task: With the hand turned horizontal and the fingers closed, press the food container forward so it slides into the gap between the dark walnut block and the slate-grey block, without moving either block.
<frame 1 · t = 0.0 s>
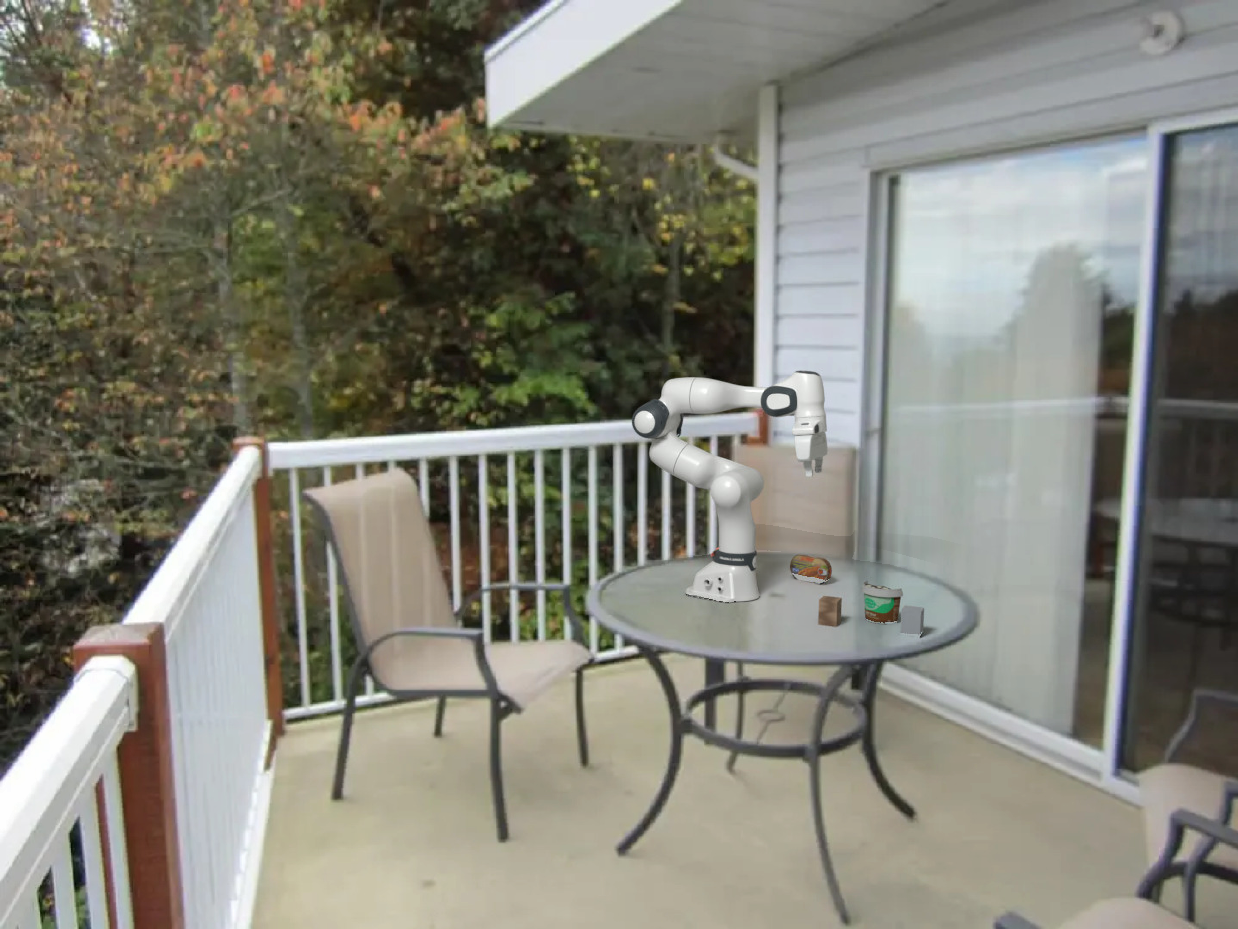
hand: (814, 474, 284), 39 cm above the table, tool pointing down, fingers open, 8 cm apart
walnut block: (829, 623, 270), on the table
food container: (876, 622, 272), on the table
slate block: (911, 634, 260), on the table
tin: (810, 582, 318), on the table
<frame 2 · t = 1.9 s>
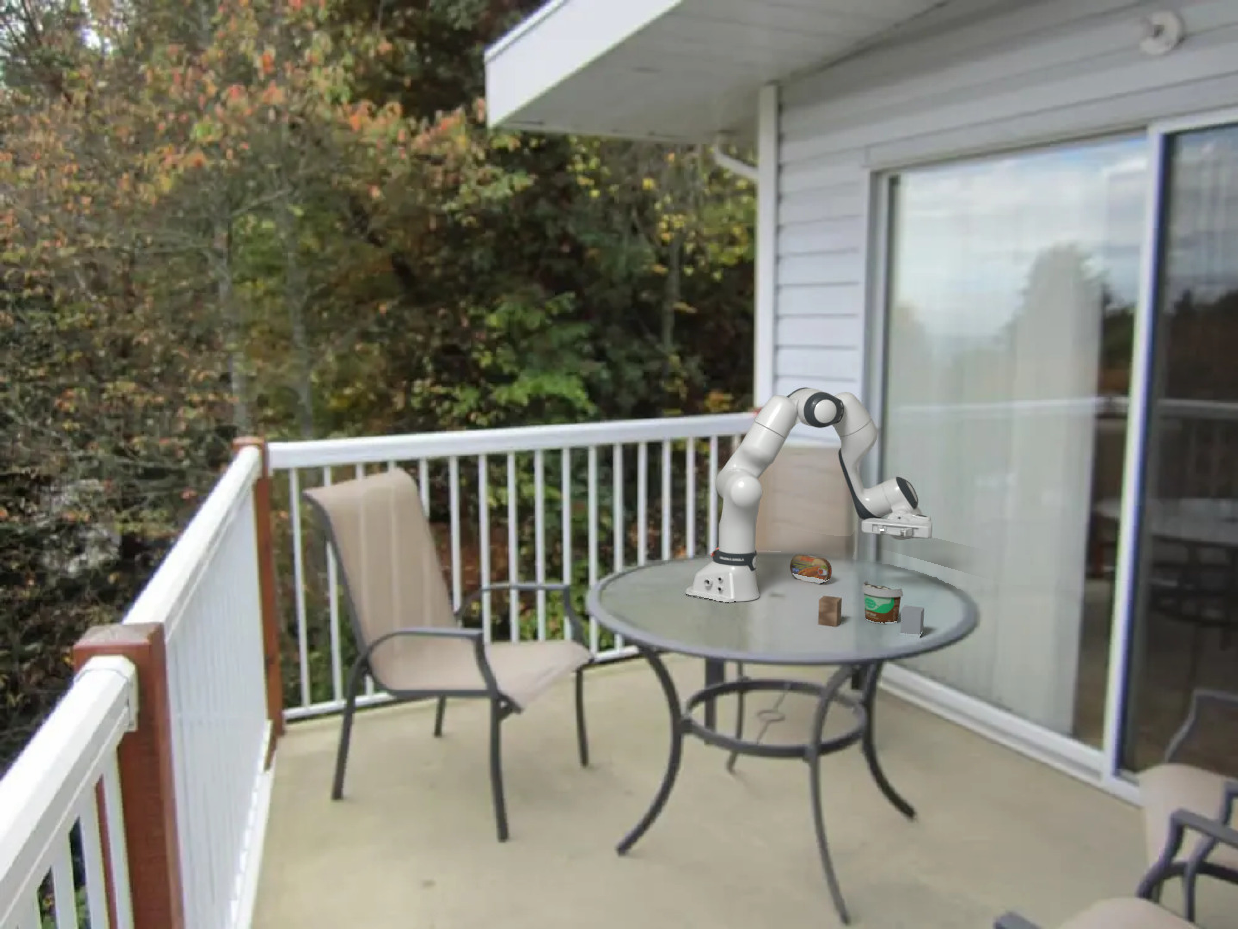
hand: (891, 532, 285), 22 cm above the table, tool horizontal, fingers open, 5 cm apart
nothing on the table moved.
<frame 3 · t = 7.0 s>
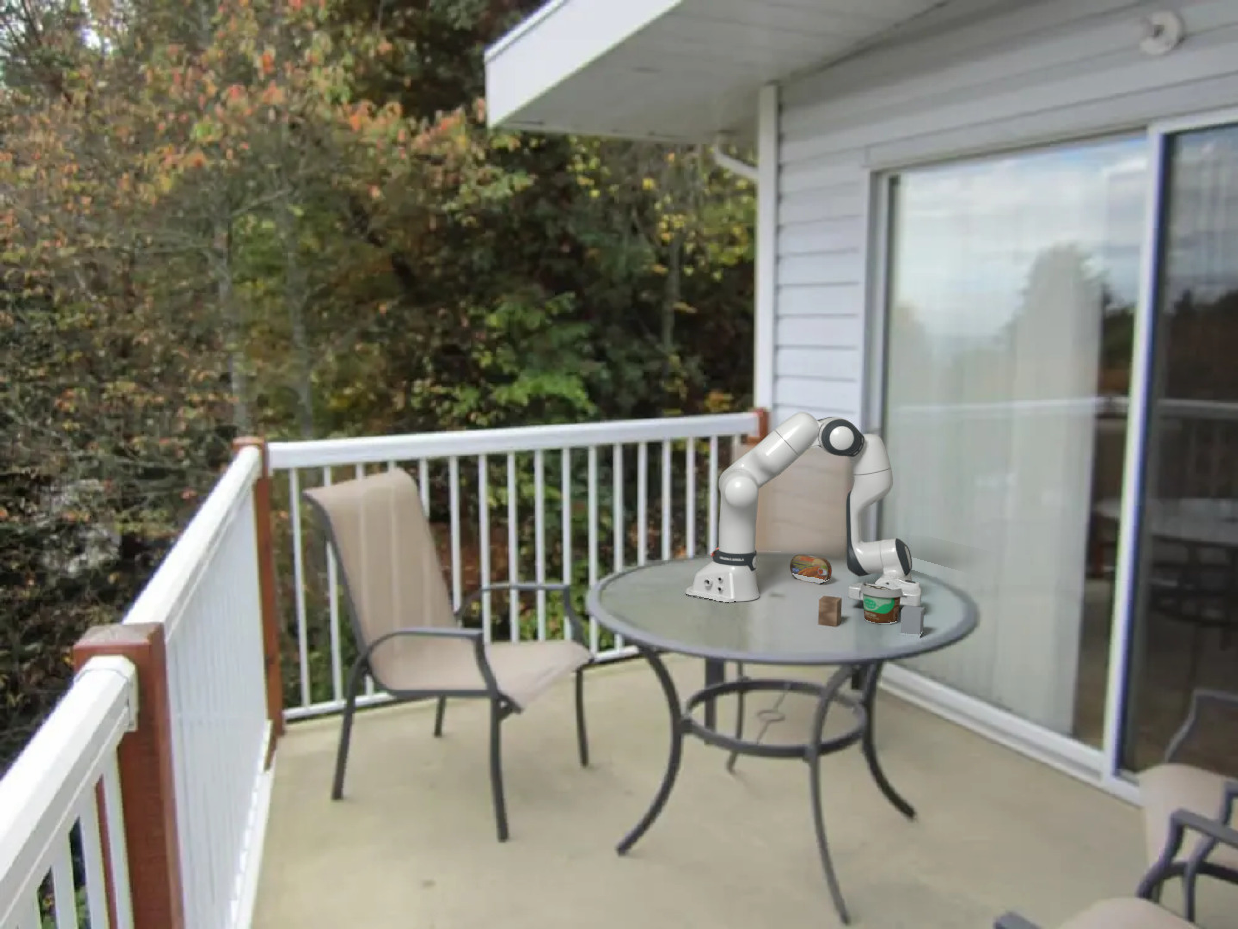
hand: (879, 601, 274), 5 cm above the table, tool horizontal, fingers closed
nothing on the table moved.
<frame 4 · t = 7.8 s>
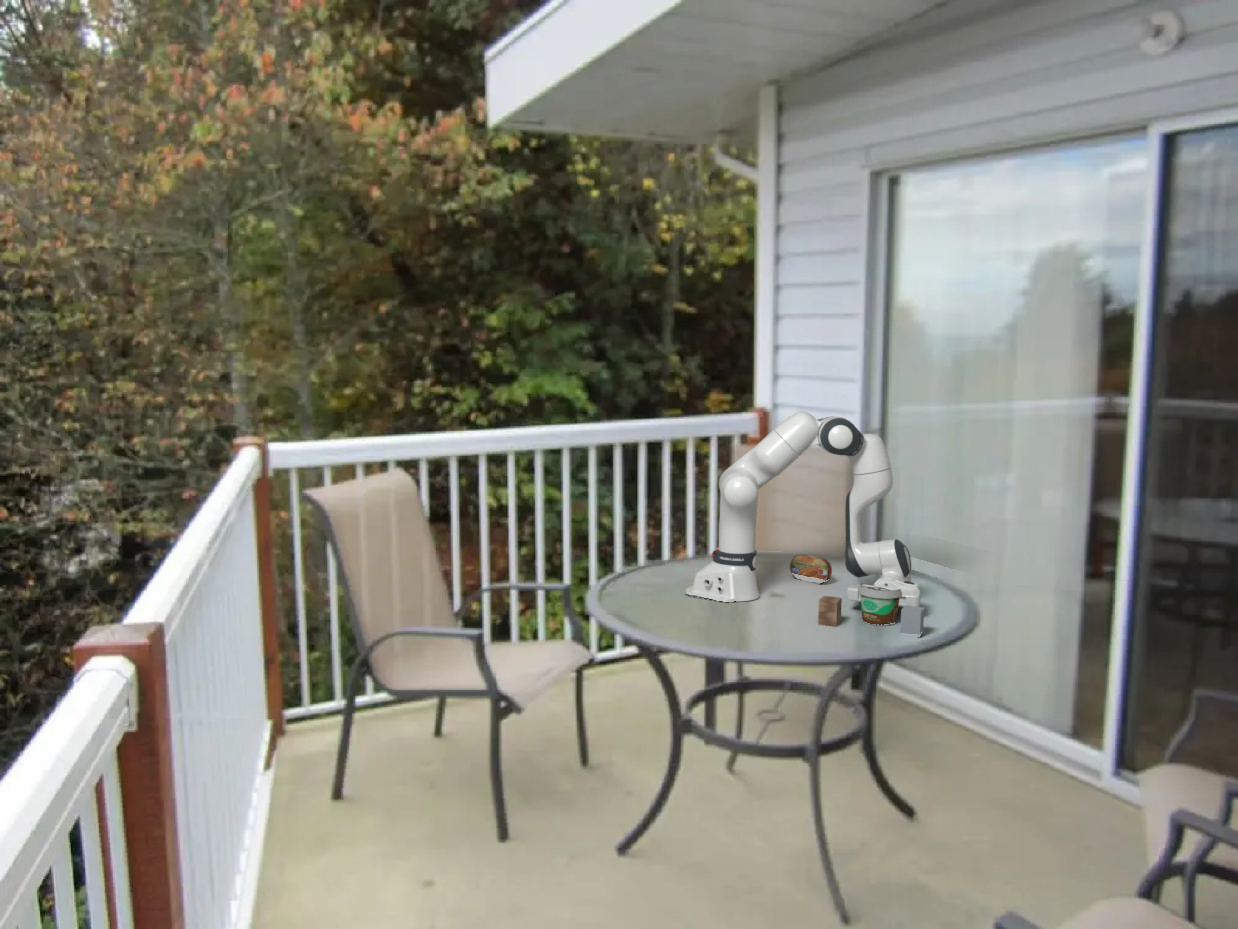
hand: (878, 602, 273), 5 cm above the table, tool horizontal, fingers closed
food container: (875, 624, 270), on the table, touching gripper
everything else where it was.
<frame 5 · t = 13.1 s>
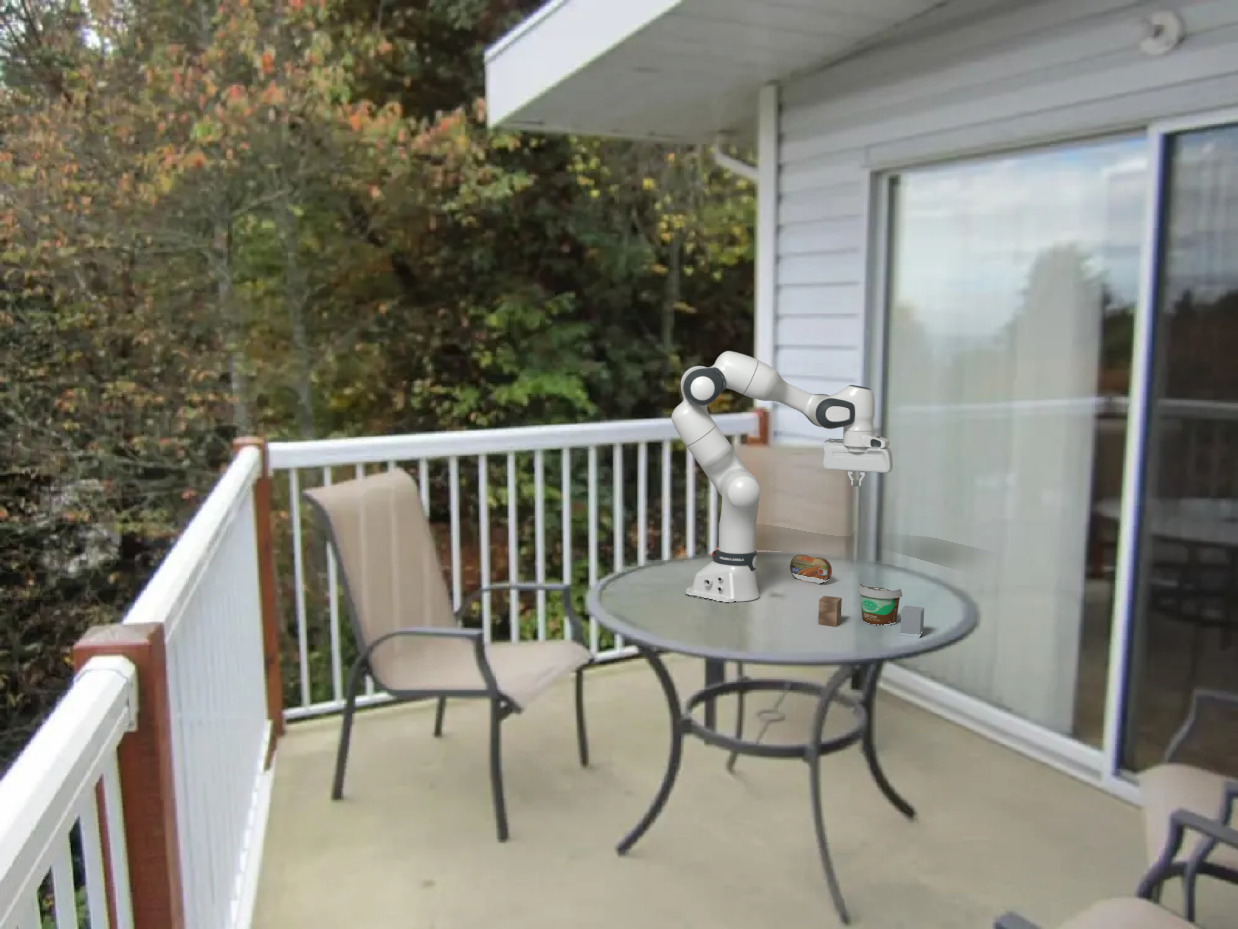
hand: (856, 486, 294), 34 cm above the table, tool pointing down, fingers closed
food container: (875, 624, 270), on the table
everything else where it was.
at the end: food container 2.9 cm from the target spot, on the table; walnut block moved 0.1 cm from its start; slate block moved 0.1 cm from its start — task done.
